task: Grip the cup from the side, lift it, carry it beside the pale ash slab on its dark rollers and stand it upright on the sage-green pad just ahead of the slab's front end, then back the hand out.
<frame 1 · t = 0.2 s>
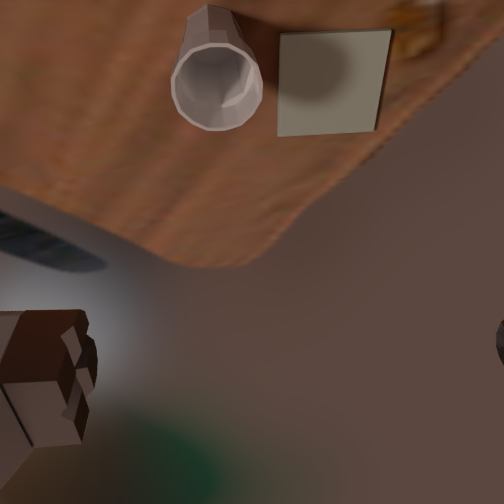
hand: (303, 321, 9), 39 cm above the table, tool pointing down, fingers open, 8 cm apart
pad: (329, 84, 47), on the table
cup: (212, 35, 43), on the table
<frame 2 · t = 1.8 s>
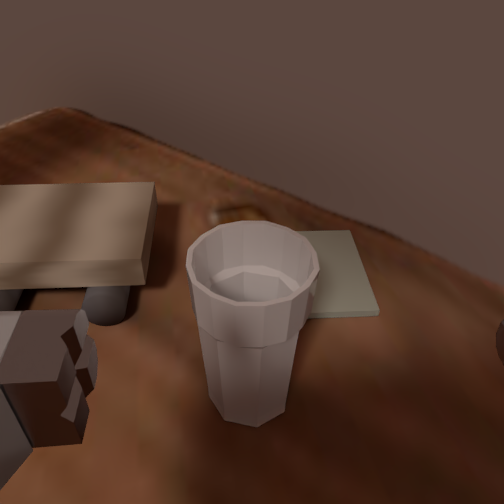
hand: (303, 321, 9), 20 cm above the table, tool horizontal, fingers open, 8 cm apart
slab: (69, 272, 39), on the table
pad: (302, 273, 40), on the table
cup: (249, 392, 31), on the table
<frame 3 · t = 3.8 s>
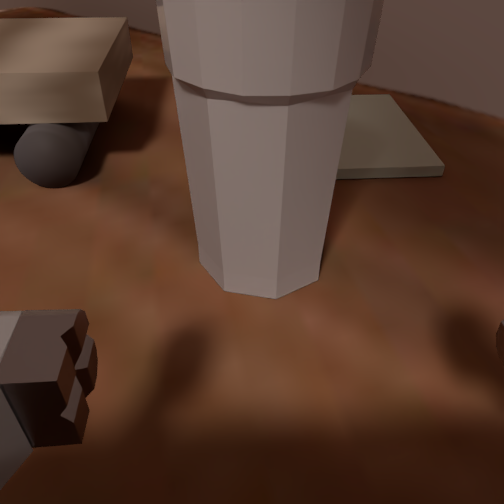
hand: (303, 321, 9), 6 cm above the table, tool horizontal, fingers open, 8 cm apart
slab: (11, 137, 29), on the table
pad: (329, 136, 29), on the table
cup: (262, 259, 20), on the table
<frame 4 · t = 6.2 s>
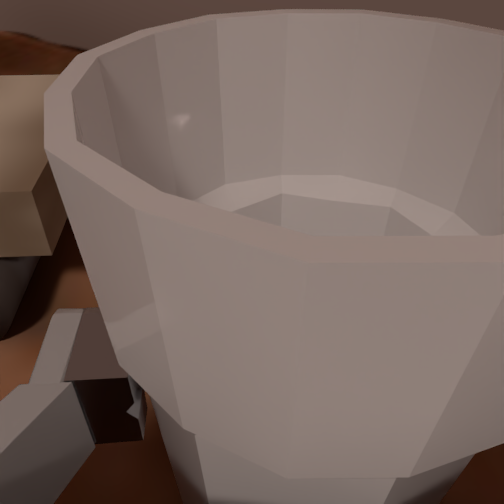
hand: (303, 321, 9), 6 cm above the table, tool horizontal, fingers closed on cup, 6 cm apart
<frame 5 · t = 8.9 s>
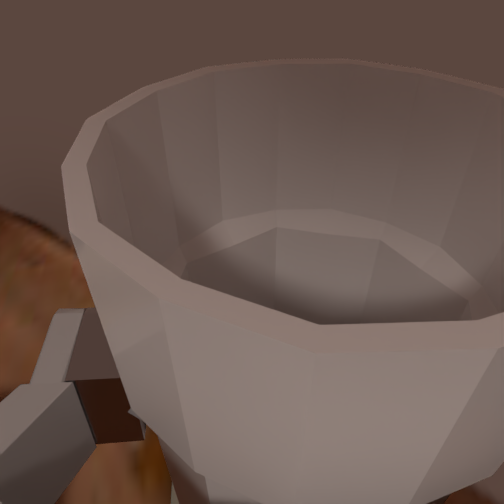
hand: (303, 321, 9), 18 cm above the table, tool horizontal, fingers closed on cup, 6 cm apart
when the fingers open (8 cm above the table, at t = 12.1 s): cup stays where it is, resting on pad.
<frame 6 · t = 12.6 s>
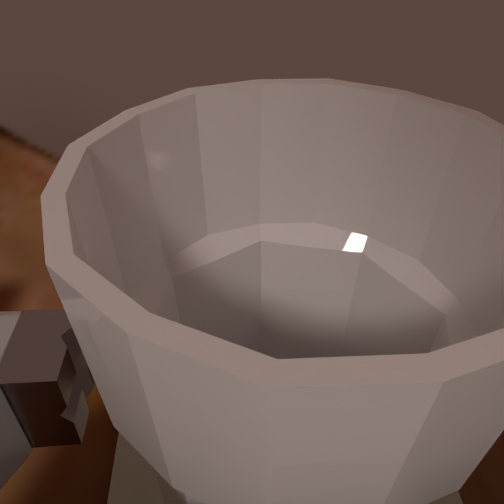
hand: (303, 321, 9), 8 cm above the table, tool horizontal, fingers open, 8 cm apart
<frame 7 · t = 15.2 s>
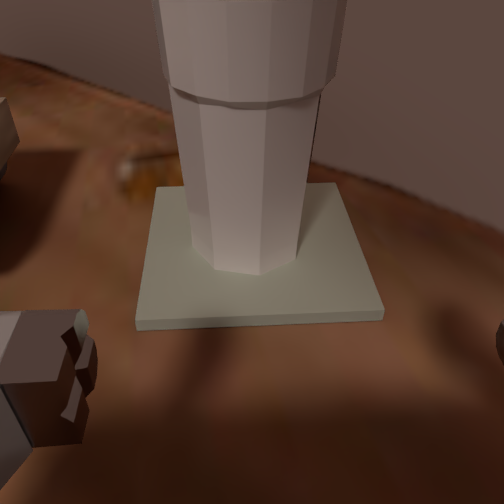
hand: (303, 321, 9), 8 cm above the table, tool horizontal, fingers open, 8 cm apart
pad: (253, 248, 24), on the table
cup: (247, 242, 23), resting on pad
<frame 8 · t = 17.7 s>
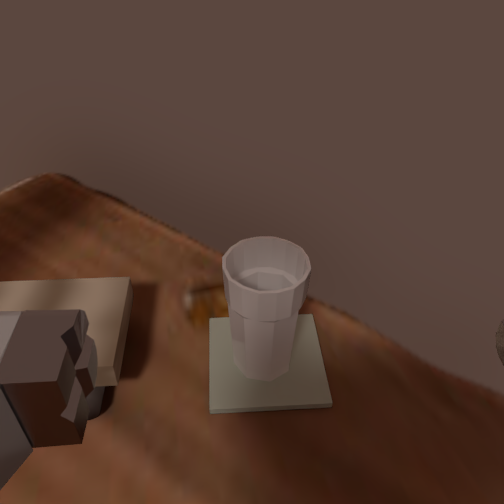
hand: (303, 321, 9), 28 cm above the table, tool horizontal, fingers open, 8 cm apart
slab: (52, 362, 43), on the table
pad: (265, 361, 43), on the table
cup: (262, 358, 43), resting on pad
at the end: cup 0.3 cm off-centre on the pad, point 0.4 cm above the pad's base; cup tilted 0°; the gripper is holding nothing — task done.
